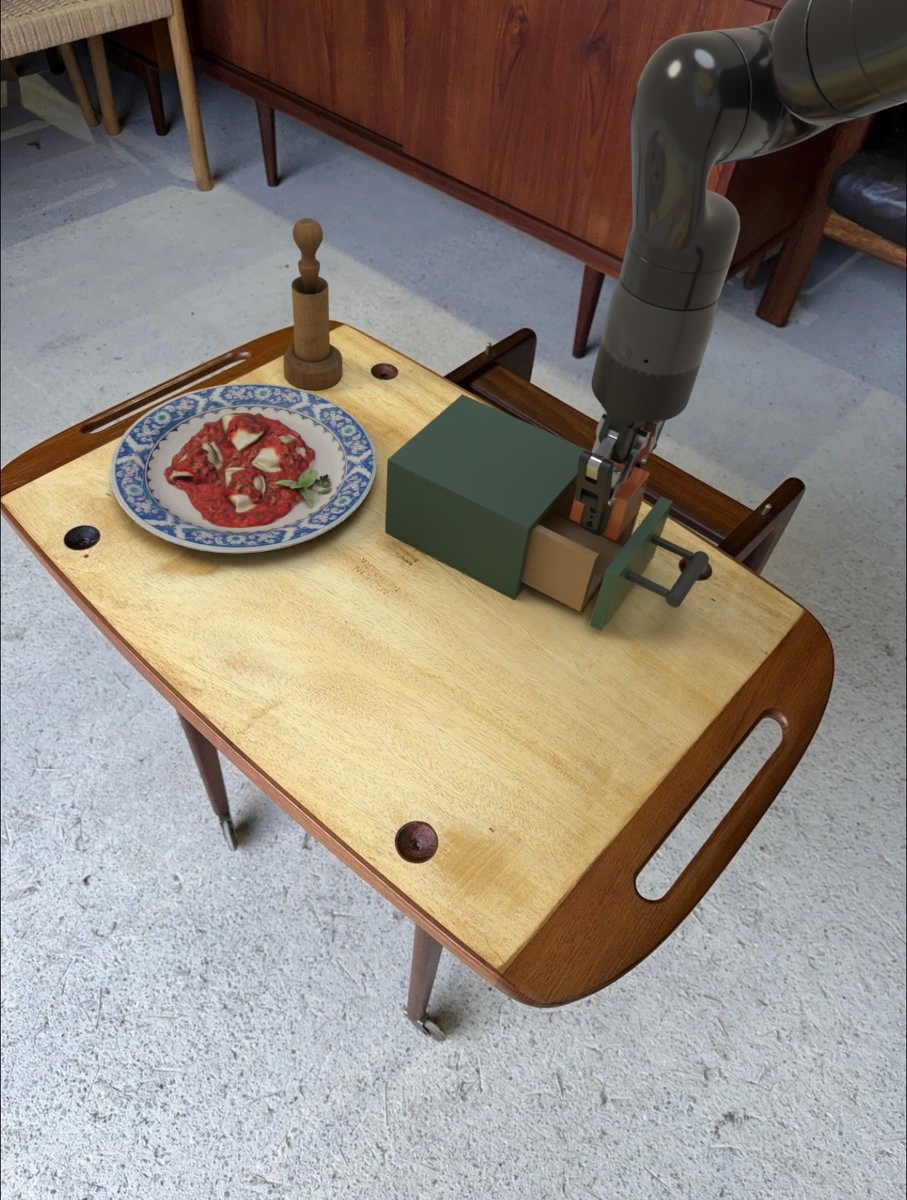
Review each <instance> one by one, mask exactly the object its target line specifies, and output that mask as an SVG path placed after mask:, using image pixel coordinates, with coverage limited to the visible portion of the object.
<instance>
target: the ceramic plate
mask: <svg viewBox="0 0 907 1200" xmlns="http://www.w3.org/2000/svg"><path fill="white" fill-rule="evenodd" d="M110 459H111V460H110V465H109V481H110V486H111V489H112V492H113V495H114V496H115V498H116V500H117V502H118V504H119V506H120V507H121V508H122V509H123V511H124V512H125V513H126V515H127V516H129V517H130V519H131V520H132V521H134V522H135V523H136V524H137V525H139V526H140V527H141V528H142V529H144V530H146V531H147V532H149V533H150V534H152V535H154V536H156V537H158V538H160V539H162V540H164V541H167V542H170V543H172V544H175V545H178V546H182V547H185V548H189V549H193V550H197V551H203V552H211V553H218V554H219V553H223V554H249V553H262V552H268V551H275V550H279V549H285V548H288V547H292V546H295V545H299V544H302V543H304V542H307V541H309V540H313V539H314V538H317V537H319V536H321V535H323V534H325V533H327V532H328V531H330V530H332V529H334V528H336V527H337V526H338V525H340V524H341V523H342V522H344V521H345V520H346V519H348V518H349V517H350V516H351V515H352V514H353V513H354V512H355V511H356V510H357V509H359V507H360V506H361V505H362V504H363V502H364V500H365V499H366V497H367V496H368V495H369V493H370V491H371V489H372V486H373V483H374V481H375V478H376V477H375V476H376V473H377V454H376V449H375V445H374V443H373V440H372V438H371V436H370V434H369V433H368V431H367V430H366V429H365V427H364V426H363V424H362V423H361V422H360V421H359V420H358V419H357V418H356V417H354V415H353V414H351V413H350V412H349V411H347V410H346V409H345V408H343V407H342V406H340V405H339V404H337V403H335V402H334V401H332V400H330V399H328V398H326V397H324V396H321V395H319V394H316V393H313V392H310V391H308V390H305V389H301V388H298V387H294V386H288V385H282V384H281V385H280V384H272V383H263V382H262V383H261V382H245V383H243V382H242V383H226V384H218V385H214V386H209V387H205V388H200V389H196V390H192V391H188V392H185V393H182V394H180V395H178V396H175V397H173V398H171V399H168V400H166V401H164V402H163V403H161V404H158V405H157V406H156V407H153V408H152V409H150V410H149V411H147V412H145V413H144V414H143V415H142V416H140V417H139V418H138V419H137V420H136V421H134V422H133V423H132V424H131V426H129V427H128V429H126V431H125V432H124V433H123V435H122V436H121V437H120V439H119V440H118V442H117V444H116V446H115V447H114V450H113V453H112V456H111V458H110Z"/></svg>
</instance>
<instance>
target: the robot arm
mask: <svg viewBox="0 0 907 1200" xmlns="http://www.w3.org/2000/svg"><path fill="white" fill-rule="evenodd" d="M904 103H907V0H788V1H787V2H786V3H785V5H784V6H783V7H782V8H781V10H780V12H779V14H778V16H777V18H774V19H771V20H767V21H764V22H763V23H758V24H755V25H750V26H749V25H748V26H742V27H733V28H723V29H713V30H704V31H693V32H688V33H683V34H679V35H677V36H674V37H672V38H669V39H668V40H667V41H665V42H664V43H663V44H661V45H660V46H659V47H658V48H657V49H656V51H655V52H654V53H653V54H652V55H651V57H650V58H649V59H648V61H647V62H646V64H645V66H644V68H643V70H642V72H641V73H640V76H639V78H638V81H637V83H636V86H635V88H634V92H633V97H632V100H631V107H630V114H629V115H630V118H629V120H630V123H629V129H630V131H629V132H630V133H629V135H630V159H631V160H630V163H631V196H632V197H631V200H632V202H631V203H632V204H631V205H632V222H631V227H630V230H629V234H628V238H627V243H626V247H625V251H624V255H623V256H624V257H623V260H622V264H621V268H620V273H619V276H618V280H617V282H616V285H615V288H614V290H613V293H612V295H611V298H610V301H609V303H608V308H607V311H606V312H607V313H606V316H605V321H604V326H603V330H602V333H601V338H600V342H599V347H598V352H597V354H596V355H597V356H596V359H595V365H594V368H593V372H592V377H591V390H592V394H593V395H594V397H595V398H596V400H597V401H598V402H599V404H600V405H601V407H602V408H603V410H604V413H603V414H602V415H601V417H600V418H599V420H598V424H597V427H596V429H595V436H596V438H595V441H594V444H593V447H592V450H588V449H586V450H584V451H583V452H582V453H581V454H580V456H579V461H578V470H577V481H576V493H575V500H576V501H578V502H580V503H582V504H584V508H583V512H582V516H581V520H580V526H581V527H582V528H583V529H585V530H587V531H589V532H591V533H593V534H595V535H598V536H601V535H602V534H603V533H604V532H605V530H606V528H607V525H608V521H609V518H610V514H611V511H612V507H613V504H614V503H615V501H616V496H617V493H618V491H619V488H620V486H621V483H624V482H625V481H626V480H628V479H629V478H630V477H631V474H632V472H633V469H634V467H637V468H639V469H643V467H644V466H646V464H647V462H648V456H649V454H650V453H653V452H654V450H656V449H657V446H658V441H659V439H660V436H661V434H662V431H663V429H664V426H665V423H666V421H668V420H670V419H673V418H675V417H677V416H679V415H680V414H681V413H682V412H684V410H685V409H686V408H687V406H688V405H689V402H690V398H691V395H692V392H693V389H694V386H695V383H696V381H697V377H698V374H699V371H700V368H701V366H702V362H703V360H704V356H705V353H706V350H707V347H708V344H709V341H710V338H711V336H712V332H713V329H714V326H715V325H714V324H715V320H716V315H717V308H718V303H719V300H720V296H721V294H722V290H723V288H724V285H725V281H726V278H727V275H728V272H729V269H730V266H731V263H732V260H733V257H734V255H735V254H734V253H735V250H736V247H737V243H738V239H739V236H740V231H741V219H740V214H739V212H738V210H737V208H736V206H735V204H733V203H732V201H730V200H729V199H728V198H727V197H725V196H724V195H722V194H720V193H718V192H716V191H713V190H711V189H708V183H709V178H710V175H711V171H712V169H713V167H714V166H716V165H723V164H727V163H733V162H737V161H744V160H748V159H753V158H758V157H761V156H765V155H768V154H771V153H775V152H778V151H781V150H784V149H786V148H790V147H792V146H795V145H797V144H799V143H801V142H804V141H806V140H807V139H810V138H812V137H814V136H816V135H818V134H820V133H821V132H824V131H825V130H827V129H829V128H831V127H833V126H835V125H836V124H839V123H840V124H841V123H845V122H849V121H852V120H856V119H860V118H864V117H866V116H869V115H872V114H875V113H878V112H880V111H883V110H886V109H889V108H893V107H895V106H898V105H901V104H904ZM587 450H588V451H587ZM590 451H591V452H590ZM610 460H612V461H614V462H616V463H619V464H625V466H624V468H620V467H618V466H615V465H614V462H612V461H610ZM611 482H612V484H611Z"/></svg>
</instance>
